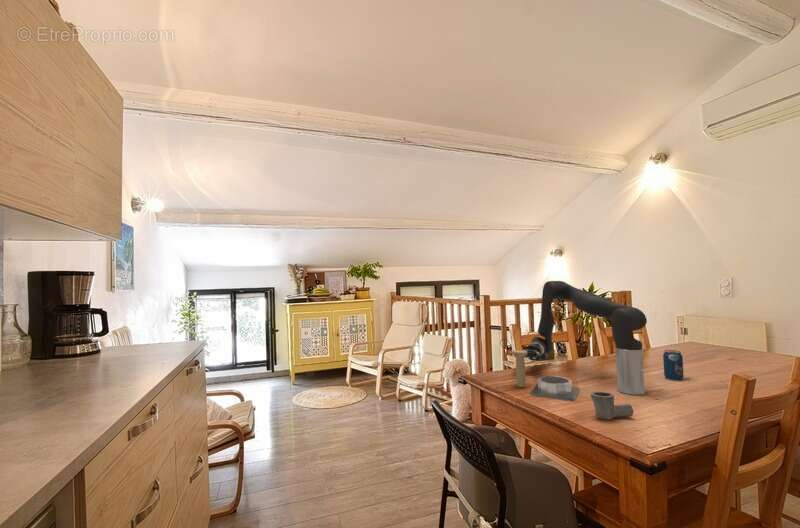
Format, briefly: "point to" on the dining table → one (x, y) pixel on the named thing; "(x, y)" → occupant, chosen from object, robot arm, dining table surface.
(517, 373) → the grey upright column
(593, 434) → the dining table surface
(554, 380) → the duct collar
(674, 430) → the dining table surface
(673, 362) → the soda can
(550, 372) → the dining table surface
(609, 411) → the pipe
